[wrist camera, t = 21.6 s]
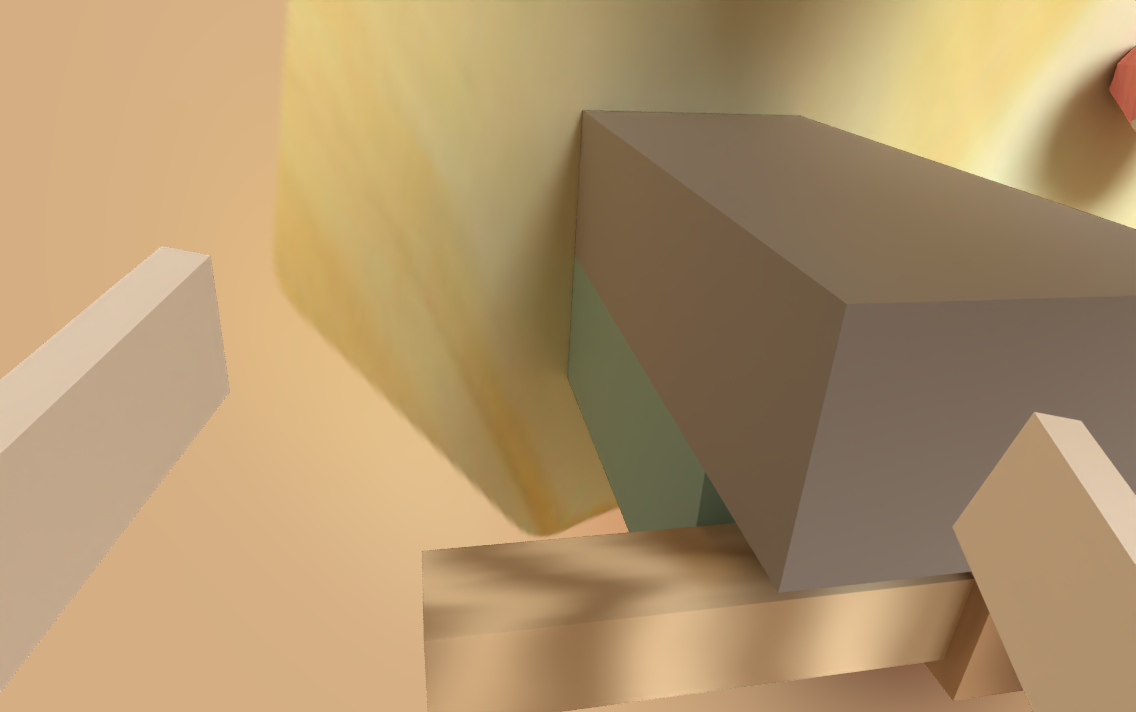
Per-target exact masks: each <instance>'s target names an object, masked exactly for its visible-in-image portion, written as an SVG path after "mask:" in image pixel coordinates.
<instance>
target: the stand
mask: <svg viewBox="0 0 1136 712" xmlns="http://www.w3.org/2000/svg"><path fill="white" fill-rule="evenodd" d="M568 380H569V382H570V385H571V387H572V390H573V392H574V395H575V397H576V400H577V402H578V405H579V407H580V410H581V413H582V415H583V418H584V420H585V423H586V425H587V428H588V430H589V433H590V435H591V438H592V440H593V443H594V445H595V448H596V450H597V453H598V455H599V458H600V460H601V463H602V465H603V468H604V470H605V473H606V475H607V478H608V480H609V483H610V485H611V488H612V490H613V493H614V495H615V498H616V500H617V503H618V505H619V508H620V510H621V513H622V515H623V518H624V520H625V523H626V525H627V528H628V530H629V532H640V531H651V530H662V529H673V528H684V527H695V526H707V525H718V524H729V523H737V525H738V527H739V528H740V530H741V532H742V533H743V535H744V537H745V538H746V540H747V542H748V543H749V545H750V547H751V548H752V550H753V552H754V553H755V555H756V557H757V558H758V560H759V562H760V563H761V565H762V567H763V568H764V570H765V571H766V573H767V575H768V576H769V578H770V580H771V581H772V583H773V585H774V586H775V588H776V590H777V591H778V593H782V592H791V591H800V590H809V589H818V588H827V587H837V586H846V585H855V584H864V583H873V582H882V581H891V580H900V579H909V578H918V577H927V576H937V575H946V574H955V573H964V572H972V571H971V569H970V567H969V564H968V562H967V560H966V557H965V555H964V553H963V550H962V548H961V546H960V544H959V541H958V539H957V537H956V534H955V532H954V530H953V525H954V524H955V522H956V521H957V520H958V518H959V517H960V515H961V514H962V512H963V511H964V510H965V508H966V507H967V505H968V504H969V503H970V501H971V500H972V498H973V497H974V496H975V494H976V493H977V491H978V490H979V489H980V487H981V486H982V484H983V483H984V482H985V480H986V479H987V477H988V476H989V475H990V473H991V472H992V470H993V469H994V467H995V466H996V465H997V463H998V462H999V460H1000V459H1001V458H1002V456H1003V455H1004V453H1005V452H1006V451H1007V449H1008V448H1009V446H1010V445H1011V444H1012V442H1013V441H1014V439H1015V438H1016V437H1017V435H1018V434H1019V432H1020V431H1021V430H1022V428H1023V427H1024V425H1025V424H1026V423H1027V421H1028V420H1029V418H1030V417H1031V415H1032V414H1033V413H1034V412H1037V413H1043V414H1048V415H1053V416H1058V417H1064V418H1069V419H1074V420H1080V421H1082V423H1083V424H1084V425H1085V427H1086V428H1087V430H1088V431H1089V432H1090V434H1091V435H1092V436H1093V438H1094V439H1095V440H1096V442H1097V443H1098V445H1099V446H1100V447H1101V449H1102V450H1103V451H1104V453H1105V454H1106V455H1107V457H1108V458H1109V460H1110V461H1111V462H1112V464H1113V465H1114V466H1115V468H1116V469H1117V470H1118V472H1119V473H1120V474H1121V476H1122V477H1123V479H1124V480H1125V481H1126V483H1127V484H1128V485H1129V487H1130V488H1131V489H1132V491H1133V492H1134V494H1135V495H1136V229H1133V228H1130V227H1127V226H1124V225H1121V224H1119V223H1116V222H1113V221H1110V220H1107V219H1104V218H1101V217H1098V216H1095V215H1092V214H1089V213H1086V212H1083V211H1080V210H1077V209H1074V208H1071V207H1068V206H1065V205H1062V204H1059V203H1056V202H1053V201H1050V200H1048V199H1045V198H1042V197H1039V196H1036V195H1033V194H1030V193H1027V192H1024V191H1021V190H1018V189H1015V188H1012V187H1009V186H1006V185H1003V184H1000V183H997V182H994V181H991V180H988V179H985V178H982V177H979V176H976V175H974V174H971V173H968V172H965V171H962V170H959V169H956V168H953V167H950V166H947V165H944V164H941V163H938V162H935V161H932V160H929V159H926V158H923V157H920V156H917V155H914V154H911V153H908V152H905V151H903V150H900V149H897V148H894V147H891V146H888V145H885V144H882V143H879V142H876V141H873V140H870V139H867V138H864V137H861V136H858V135H855V134H852V133H849V132H846V131H843V130H840V129H837V128H834V127H831V126H829V125H826V124H823V123H820V122H817V121H814V120H811V119H808V118H805V117H802V116H788V115H748V114H708V113H668V112H628V111H587V110H583V114H582V132H581V150H580V167H579V185H578V203H577V220H576V238H575V256H574V273H573V291H572V309H571V326H570V344H569V362H568Z"/></svg>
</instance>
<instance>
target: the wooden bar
mask: <svg viewBox="0 0 1136 712" xmlns="http://www.w3.org/2000/svg"><path fill="white" fill-rule="evenodd" d="M422 570H423V617H424V618H423V620H424V652H425V670H426V688H427V708H428V712H562V711H570V710H577V709H584V708H591V707H599V706H606V705H614V704H621V703H628V702H636V701H643V700H651V699H657V698H665V697H672V696H680V695H687V694H695V693H702V692H709V691H717V690H724V689H732V688H738V687H746V686H753V685H761V684H768V683H776V682H783V681H790V680H797V679H804V678H812V677H819V676H827V675H835V674H841V673H849V672H857V671H864V670H871V669H878V668H886V667H893V666H901V665H908V664H915V663H922V662H924V663H925V664H926V666H927V667H928V668H929V669H930V671H931V672H932V673H933V675H934V676H935V677H936V679H937V680H938V681H939V683H940V684H941V685H942V687H943V688H944V689H945V690H946V692H947V693H948V695H949V696H950V697H951V699H952V700H953V701H955V700H962V699H969V698H975V697H982V696H989V695H996V694H1002V693H1009V692H1016V691H1023V689H1022V686H1021V684H1020V682H1019V679H1018V677H1017V675H1016V672H1015V670H1014V668H1013V666H1012V663H1011V661H1010V659H1009V656H1008V654H1007V652H1006V649H1005V647H1004V645H1003V643H1002V640H1001V638H1000V636H999V633H998V631H997V629H996V626H995V624H994V622H993V619H992V617H991V615H990V613H989V610H988V608H987V606H986V603H985V601H984V599H983V596H982V594H981V592H980V590H979V587H978V585H977V583H976V580H975V578H974V576H973V573H972V572H964V573H955V574H946V575H937V576H927V577H918V578H909V579H900V580H891V581H882V582H873V583H864V584H855V585H846V586H837V587H827V588H818V589H809V590H800V591H791V592H782V593H778V591H777V590H776V588H775V586H774V585H773V583H772V581H771V580H770V578H769V576H768V575H767V573H766V571H765V570H764V568H763V567H762V565H761V563H760V562H759V560H758V558H757V557H756V555H755V553H754V552H753V550H752V548H751V547H750V545H749V543H748V542H747V540H746V538H745V537H744V535H743V533H742V532H741V530H740V528H739V527H738V525H737V523H729V524H718V525H707V526H695V527H684V528H673V529H662V530H651V531H640V532H629V533H618V534H606V535H595V536H584V537H573V538H563V539H551V540H540V541H529V542H518V543H507V544H496V545H484V546H474V547H462V548H451V549H440V550H429V551H422Z"/></svg>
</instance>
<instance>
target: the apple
mask: <svg viewBox="0 0 1136 712" xmlns="http://www.w3.org/2000/svg"><path fill="white" fill-rule="evenodd" d="M1109 90H1110V92H1111V94H1112V96H1113V98H1114V99H1115V101H1116V102H1117V104H1118V105H1119V107H1120V108H1121V109H1122V111H1123V113H1124V115H1125V117H1126V118H1127V120H1128V122H1129V124H1130V126H1131V127H1132V129H1133V130H1134V132H1135V133H1136V46H1135V47H1134V48H1133V49H1132V50H1131V51H1130V52H1129V53H1128V54H1127V55H1126V56H1125V57H1124V58H1123V59H1122V60H1121V61H1120V62H1119V63H1118V64H1117V67H1116V70H1115V74H1114V77H1113V80H1112V83H1111V85H1110V87H1109Z"/></svg>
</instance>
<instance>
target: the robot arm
mask: <svg viewBox="0 0 1136 712" xmlns="http://www.w3.org/2000/svg"><path fill="white" fill-rule="evenodd" d="M229 393H230V389H229V382H228V375H227V368H226V361H225V354H224V347H223V340H222V333H221V326H220V320H219V312H218V305H217V298H216V290H215V283H214V277H213V269H212V263H211V256H210V255H206V254H201V253H196V252H190V251H185V250H179V249H174V248H170V247H164V246H161V247H160V248H158V249H157V250H156V251H155V252H153V254H151V255H150V256H149V257H148V258H146V259H145V260H144V261H143V262H141V263H140V264H139V265H138V266H137V267H135V268H134V269H133V270H132V271H131V272H129V273H128V274H127V275H126V276H125V277H123V278H122V279H121V280H120V281H119V282H118V283H116V284H115V285H114V286H113V287H111V288H110V289H109V290H108V291H107V292H105V293H104V294H103V295H102V296H101V297H99V298H98V299H97V300H96V301H95V302H94V303H92V304H91V305H90V306H89V307H87V308H86V309H85V310H84V311H83V312H81V313H80V314H79V315H78V316H77V317H75V318H74V319H73V320H72V321H71V322H69V323H68V324H67V325H66V326H64V327H63V328H62V329H61V330H60V331H59V332H57V333H56V334H55V335H54V336H52V337H51V338H50V339H49V340H48V341H47V342H45V343H44V344H43V345H42V346H41V347H39V348H38V349H37V350H36V351H34V352H33V353H32V354H31V355H30V356H28V357H27V358H26V359H25V360H24V361H23V362H21V363H20V364H19V365H18V366H16V367H15V368H14V369H13V370H12V371H11V372H9V373H8V374H7V375H6V376H4V377H3V378H2V379H1V380H0V693H1V692H2V690H3V689H4V688H5V686H6V685H7V684H8V682H9V681H10V680H11V678H12V677H13V676H14V674H15V673H16V671H18V669H19V668H20V667H21V665H22V664H23V663H24V661H25V660H26V659H27V657H28V656H29V655H30V653H31V652H32V651H33V650H34V648H35V647H36V646H37V644H38V643H39V642H40V640H41V639H42V638H43V636H44V635H45V634H46V632H47V631H48V630H49V629H50V627H51V626H52V624H53V623H54V622H55V621H56V619H57V618H58V617H59V615H60V614H61V613H62V611H63V610H64V609H65V608H66V606H67V605H68V604H69V602H70V601H71V600H72V598H73V597H74V596H75V594H76V593H77V592H78V590H79V589H80V588H81V586H82V585H83V584H84V583H85V581H86V580H87V579H88V577H89V576H90V575H91V573H92V572H93V571H94V570H95V568H96V567H97V566H98V564H99V563H100V562H101V560H102V559H103V558H104V556H105V555H106V554H107V552H108V551H109V550H110V549H111V547H112V546H113V545H114V543H115V542H116V541H117V539H118V538H119V537H120V535H121V534H122V533H123V532H124V530H125V529H126V528H127V526H128V525H129V524H130V522H131V521H132V520H133V518H134V517H135V516H136V514H137V513H138V512H139V510H140V509H141V508H142V507H143V505H144V504H145V503H146V501H147V500H148V499H149V497H150V496H151V495H152V493H153V492H154V491H155V490H156V488H157V487H158V485H159V484H160V483H161V482H162V480H163V479H164V478H165V476H166V475H167V474H168V472H169V471H170V470H171V469H172V467H173V466H174V465H175V463H176V462H177V461H178V459H179V458H180V457H181V455H182V454H183V453H184V452H185V450H186V449H187V448H188V446H189V445H190V443H191V442H192V441H193V440H194V438H195V437H196V436H197V434H198V433H199V432H200V430H201V429H202V428H203V427H204V425H205V424H206V422H207V421H208V420H209V419H210V417H211V416H212V415H213V413H214V412H215V411H216V410H217V408H218V407H219V406H220V404H221V403H222V402H223V400H224V399H225V398H226V396H227V395H228V394H229ZM953 530H954V532H955V534H956V537H957V539H958V541H959V544H960V546H961V548H962V550H963V553H964V555H965V557H966V560H967V562H968V564H969V567H970V569H971V571H972V573H973V576H974V578H975V580H976V583H977V585H978V587H979V590H980V592H981V594H982V596H983V599H984V601H985V603H986V606H987V608H988V610H989V613H990V615H991V617H992V619H993V622H994V624H995V626H996V629H997V631H998V633H999V636H1000V638H1001V640H1002V643H1003V645H1004V647H1005V649H1006V652H1007V654H1008V656H1009V659H1010V661H1011V663H1012V666H1013V668H1014V670H1015V672H1016V675H1017V677H1018V679H1019V682H1020V684H1021V686H1022V689H1023V691H1024V693H1025V695H1026V698H1027V700H1028V702H1029V705H1030V707H1031V709H1032V711H1033V712H1136V495H1135V494H1134V492H1133V491H1132V489H1131V488H1130V487H1129V485H1128V484H1127V483H1126V481H1125V480H1124V479H1123V477H1122V476H1121V474H1120V473H1119V472H1118V470H1117V469H1116V468H1115V466H1114V465H1113V464H1112V462H1111V461H1110V460H1109V458H1108V457H1107V455H1106V454H1105V453H1104V451H1103V450H1102V449H1101V447H1100V446H1099V445H1098V443H1097V442H1096V440H1095V439H1094V438H1093V436H1092V435H1091V434H1090V432H1089V431H1088V430H1087V428H1086V427H1085V425H1084V424H1083V423H1082V421H1080V420H1074V419H1069V418H1064V417H1058V416H1053V415H1048V414H1043V413H1037V412H1034V413H1033V414H1032V415H1031V417H1030V418H1029V420H1028V421H1027V423H1026V424H1025V425H1024V427H1023V428H1022V430H1021V431H1020V432H1019V434H1018V435H1017V437H1016V438H1015V439H1014V441H1013V442H1012V444H1011V445H1010V446H1009V448H1008V449H1007V451H1006V452H1005V453H1004V455H1003V456H1002V458H1001V459H1000V460H999V462H998V463H997V465H996V466H995V467H994V469H993V470H992V472H991V473H990V475H989V476H988V477H987V479H986V480H985V482H984V483H983V484H982V486H981V487H980V489H979V490H978V491H977V493H976V494H975V496H974V497H973V498H972V500H971V501H970V503H969V504H968V505H967V507H966V508H965V510H964V511H963V512H962V514H961V515H960V517H959V518H958V520H957V521H956V522H955V524H954V525H953Z"/></svg>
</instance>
